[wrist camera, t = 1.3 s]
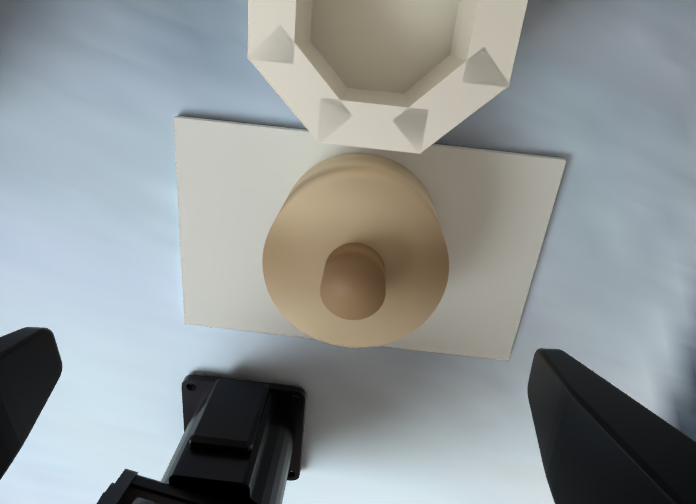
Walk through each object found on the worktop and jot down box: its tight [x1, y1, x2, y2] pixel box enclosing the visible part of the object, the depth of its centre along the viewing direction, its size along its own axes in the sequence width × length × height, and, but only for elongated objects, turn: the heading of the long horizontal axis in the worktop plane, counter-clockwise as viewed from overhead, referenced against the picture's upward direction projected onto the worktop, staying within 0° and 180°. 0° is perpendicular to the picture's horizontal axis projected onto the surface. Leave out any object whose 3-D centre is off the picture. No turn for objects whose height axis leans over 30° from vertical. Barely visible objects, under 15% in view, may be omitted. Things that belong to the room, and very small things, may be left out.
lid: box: [262, 153, 449, 348], centre depth 19 cm, size 7×7×6 cm
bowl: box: [247, 0, 528, 154], centre depth 16 cm, size 8×8×4 cm
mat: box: [174, 116, 567, 361], centre depth 22 cm, size 10×16×1 cm, turn 84°
